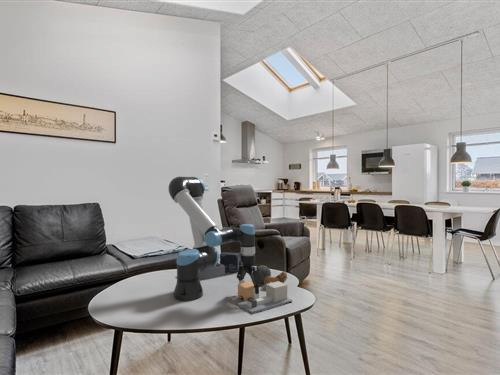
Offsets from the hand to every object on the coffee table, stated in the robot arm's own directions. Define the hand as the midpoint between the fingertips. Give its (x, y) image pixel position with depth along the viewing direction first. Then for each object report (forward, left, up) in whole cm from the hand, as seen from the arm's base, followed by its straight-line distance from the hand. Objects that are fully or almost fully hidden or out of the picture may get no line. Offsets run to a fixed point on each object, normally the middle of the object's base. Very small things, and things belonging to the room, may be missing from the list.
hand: (248, 296), depth 151 cm
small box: (-49, +17, -1) cm, 51 cm away
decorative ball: (-17, +21, -1) cm, 27 cm away
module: (-1, 0, -1) cm, 1 cm away
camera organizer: (-50, -2, -1) cm, 50 cm away
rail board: (+10, +3, -1) cm, 11 cm away
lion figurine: (-5, +21, -1) cm, 21 cm away
